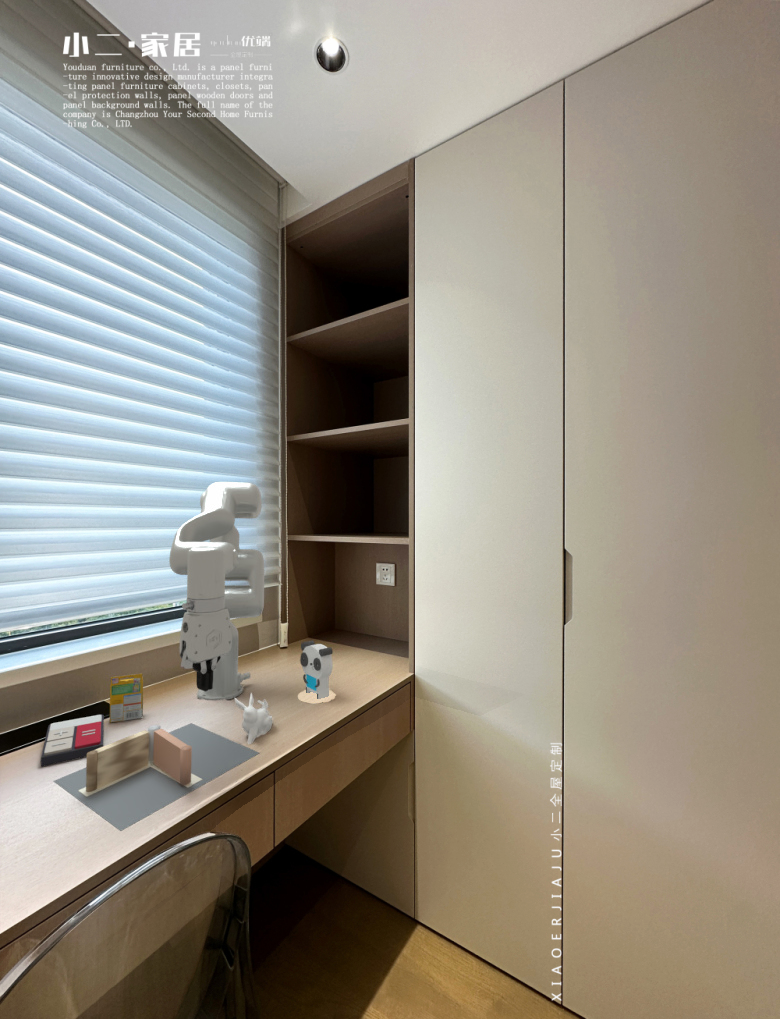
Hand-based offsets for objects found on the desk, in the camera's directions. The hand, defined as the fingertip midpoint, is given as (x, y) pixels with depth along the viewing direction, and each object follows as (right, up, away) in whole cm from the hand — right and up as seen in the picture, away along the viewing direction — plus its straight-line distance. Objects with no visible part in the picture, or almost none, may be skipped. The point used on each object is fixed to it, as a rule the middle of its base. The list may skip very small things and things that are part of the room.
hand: (204, 688), depth 99 cm
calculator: (-32, -16, +5) cm, 36 cm away
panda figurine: (+18, -16, +36) cm, 44 cm away
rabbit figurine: (+6, -16, +12) cm, 21 cm away
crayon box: (-28, -16, +20) cm, 38 cm away
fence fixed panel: (-14, -15, -7) cm, 22 cm away
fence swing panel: (-5, -15, -5) cm, 16 cm away
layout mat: (-8, -16, -3) cm, 18 cm away
